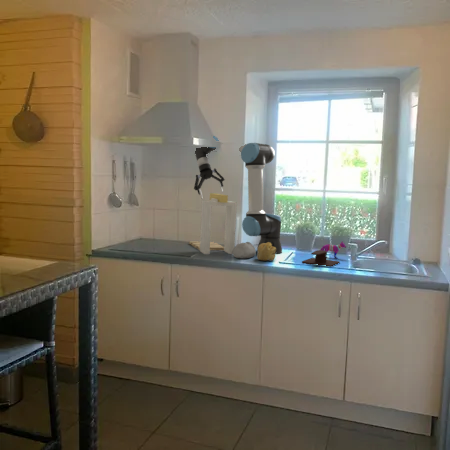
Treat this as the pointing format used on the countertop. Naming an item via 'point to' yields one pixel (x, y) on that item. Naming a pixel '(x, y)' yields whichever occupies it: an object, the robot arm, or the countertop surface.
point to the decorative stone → (244, 250)
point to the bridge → (229, 225)
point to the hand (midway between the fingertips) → (212, 195)
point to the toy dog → (333, 248)
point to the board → (212, 245)
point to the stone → (266, 252)
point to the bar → (219, 197)
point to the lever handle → (320, 259)
